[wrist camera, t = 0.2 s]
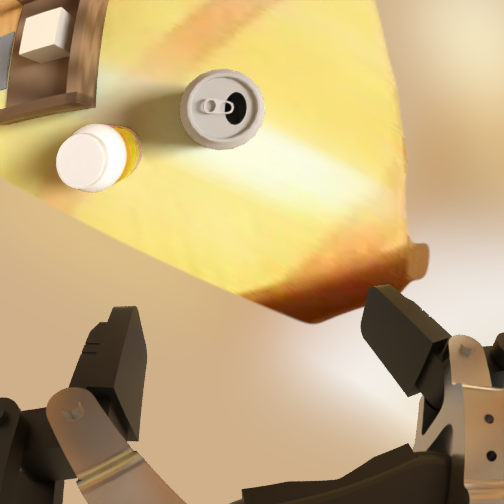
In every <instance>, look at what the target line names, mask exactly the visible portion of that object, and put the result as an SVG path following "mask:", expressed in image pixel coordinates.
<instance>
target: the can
mask: <svg viewBox="0 0 504 504" xmlns="http://www.w3.org/2000/svg"><path fill="white" fill-rule="evenodd" d="M179 108H180V120H181V122H182V124H183V127H184V129H185V131H186V132H187V133H188V135H189V136H190V137H191V138H192V139H193V140H194V141H195V142H197V143H199V144H201V145H203V146H204V147H206V148H211V149H216V150H225V149H233V148H236V147H238V146H241V145H243V144H245V143H246V142H248V141H249V140H250V139H251V138H252V137H254V136H255V135H256V133H257V131H258V130H259V128H260V127H261V125H262V122H263V118H264V115H265V104H264V98H263V96H262V94H261V91H260V89H259V87H258V86H257V85H256V84H255V83H254V82H253V81H252V79H250V78H249V77H247V76H245V75H244V74H242V73H240V72H237V71H233V70H229V69H219V70H212V71H209V72H206V73H204V74H201V75H200V76H198V77H197V78H196V79H194V80H193V81H192V82H191V83H190V84H189V85H188V87H187V88H186V90H185V91H184V93H183V95H182V99H181V102H180V106H179Z"/></svg>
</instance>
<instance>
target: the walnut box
mask: <svg viewBox="0 0 504 504" xmlns="http://www.w3.org/2000/svg"><path fill="white" fill-rule="evenodd" d="M17 1H18V2H20V3H21V4H23V5H24V6H23V9H22V13H21V17H20V21H19V25H18V30H17V34H16V39H15V44H14V50H13V55H12V62H11V69H10V77H9V86H8V97H7V108H4V109H1V110H0V125H6V124H13V123H16V122H20V121H24V120H29V119H33V118H38V117H42V116H47V115H52V114H57V113H63V112H68V111H74V110H81V109H88V108H95V107H96V89H97V76H98V65H99V56H100V48H101V40H102V33H103V27H104V21H105V15H106V10H107V5H108V0H17ZM59 7H62V8H63V9H64V10H66V11H67V12H68V13H69V14H70V15H71V16H72V17H73V18H74V19H75V20H76V21H75V26H74V32H73V37H72V44H71V51H70V56H68V57H64V58H60V59H55V60H51V61H48V62H44V63H39V62H36V61H34V60H31V59H29V58H26V57H23V56H21V55H19V51H20V45H21V40H22V35H23V30H24V26H25V21H26V18H29V17H31V16H34V15H37V14H40V13H43V12H46V11H49V10H53V9H56V8H59Z"/></svg>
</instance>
